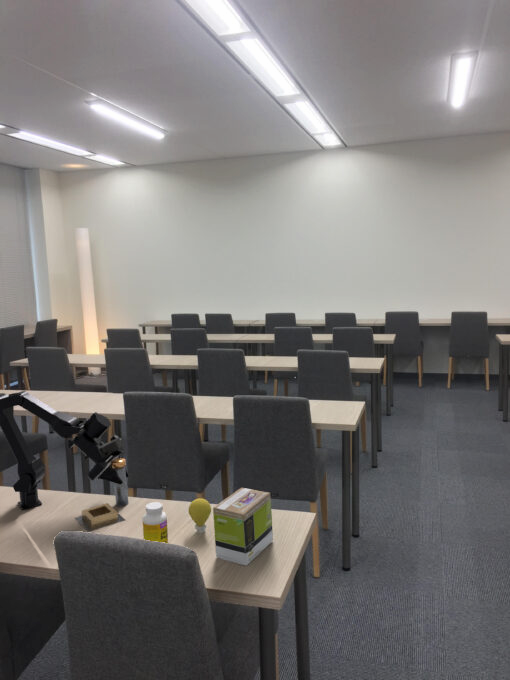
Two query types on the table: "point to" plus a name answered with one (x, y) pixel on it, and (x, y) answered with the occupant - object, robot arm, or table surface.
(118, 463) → the copper capped grey cylinder
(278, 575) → the table surface
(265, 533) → the tea box
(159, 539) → the supplement bottle
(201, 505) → the light bulb
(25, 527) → the table surface
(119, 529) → the table surface
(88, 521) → the tan square base
